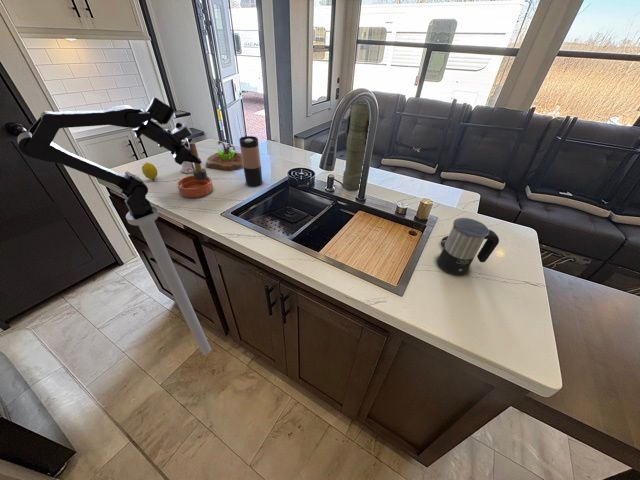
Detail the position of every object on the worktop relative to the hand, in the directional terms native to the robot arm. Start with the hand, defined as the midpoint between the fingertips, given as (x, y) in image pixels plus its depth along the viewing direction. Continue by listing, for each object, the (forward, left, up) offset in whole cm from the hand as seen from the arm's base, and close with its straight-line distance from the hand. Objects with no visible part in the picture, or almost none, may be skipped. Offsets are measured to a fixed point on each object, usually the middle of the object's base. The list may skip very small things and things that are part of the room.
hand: (200, 161), depth 101 cm
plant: (+24, +22, -14) cm, 35 cm away
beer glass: (+5, +26, -14) cm, 29 cm away
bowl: (-3, +4, -13) cm, 14 cm away
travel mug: (+19, -7, -14) cm, 24 cm away
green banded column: (+49, -41, -14) cm, 65 cm away
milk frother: (+31, -93, -14) cm, 99 cm away
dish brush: (-1, 0, -7) cm, 7 cm away
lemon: (-11, +28, -14) cm, 33 cm away
